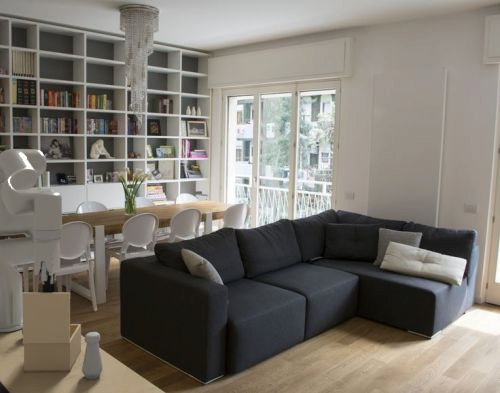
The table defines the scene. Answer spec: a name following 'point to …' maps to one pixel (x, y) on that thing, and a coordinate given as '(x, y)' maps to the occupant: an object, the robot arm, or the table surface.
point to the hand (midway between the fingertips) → (49, 296)
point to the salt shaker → (92, 356)
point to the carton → (53, 354)
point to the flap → (46, 317)
